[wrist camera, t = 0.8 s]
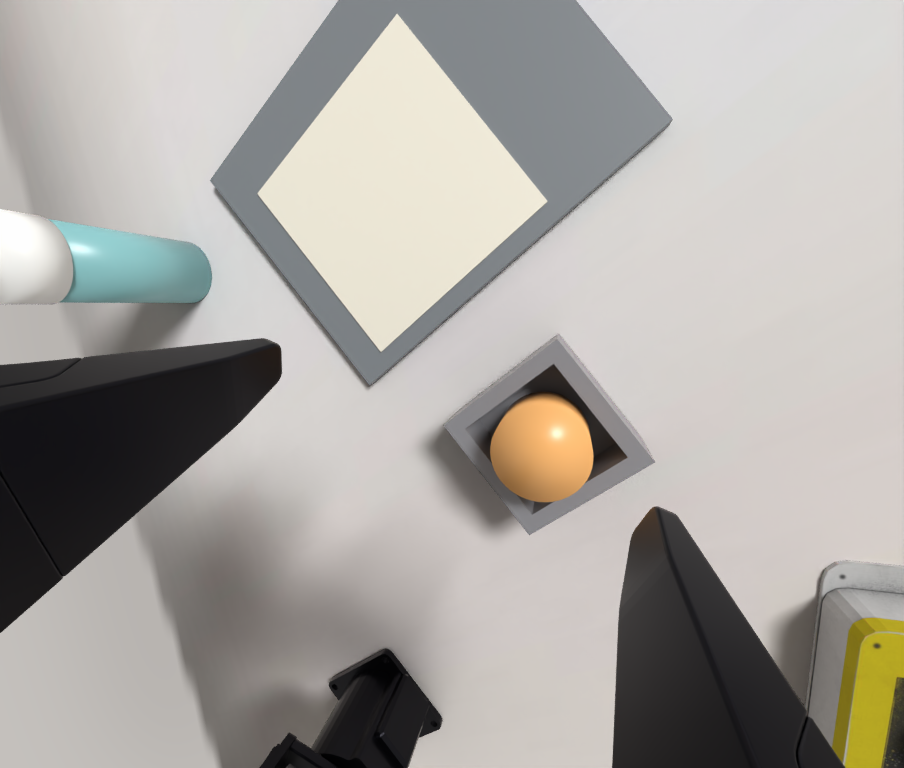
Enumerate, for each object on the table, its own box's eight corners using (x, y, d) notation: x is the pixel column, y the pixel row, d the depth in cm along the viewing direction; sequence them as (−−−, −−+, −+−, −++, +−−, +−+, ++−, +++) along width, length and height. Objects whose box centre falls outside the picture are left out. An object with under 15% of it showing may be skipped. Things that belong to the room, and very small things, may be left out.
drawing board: (373, 383, 25) (368, 385, 24) (218, 183, 25) (208, 179, 25) (669, 124, 18) (673, 118, 18) (453, -141, 19) (448, -158, 18)
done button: (535, 490, 21) (530, 519, 18) (483, 424, 21) (470, 442, 18) (608, 445, 20) (615, 468, 17) (552, 374, 20) (549, 385, 17)
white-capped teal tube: (190, 317, 28) (-4, 323, 18) (153, 269, 28) (-58, 252, 19) (223, 276, 26) (32, 260, 17) (185, 226, 27) (-26, 183, 17)
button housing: (534, 502, 24) (528, 535, 20) (460, 408, 24) (443, 425, 20) (641, 437, 21) (655, 462, 18) (558, 333, 21) (557, 338, 18)
